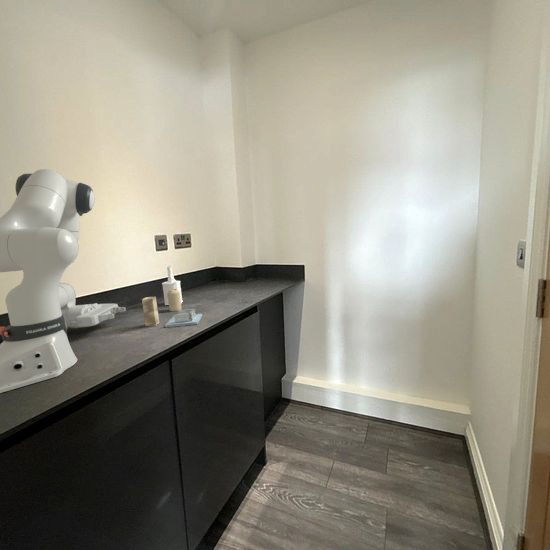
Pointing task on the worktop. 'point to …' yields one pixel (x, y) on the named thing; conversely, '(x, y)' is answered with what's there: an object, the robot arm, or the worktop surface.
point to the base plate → (193, 322)
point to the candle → (174, 300)
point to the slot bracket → (185, 315)
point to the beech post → (150, 311)
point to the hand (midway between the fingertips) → (119, 312)
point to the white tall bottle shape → (171, 285)
